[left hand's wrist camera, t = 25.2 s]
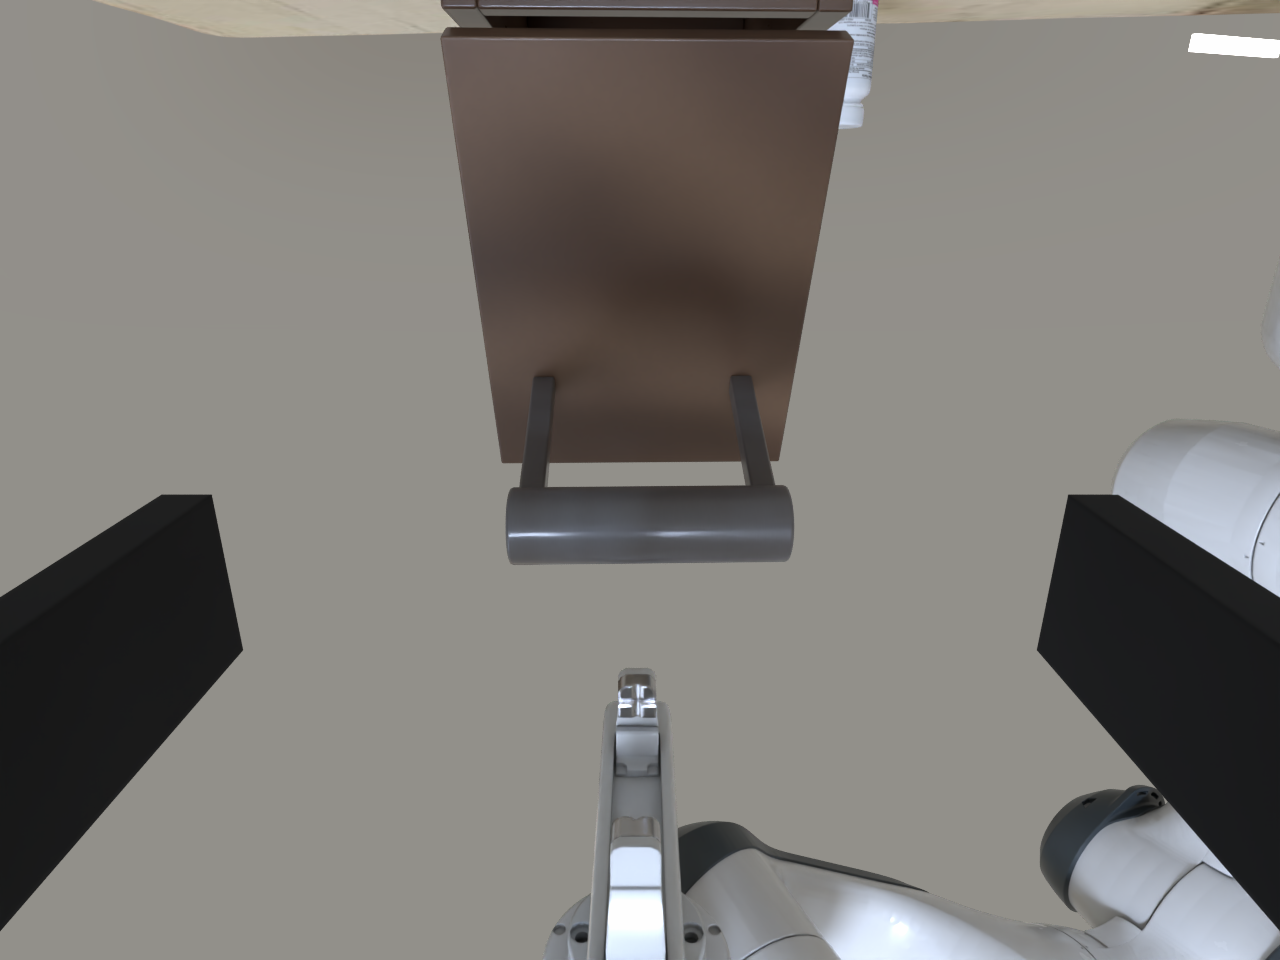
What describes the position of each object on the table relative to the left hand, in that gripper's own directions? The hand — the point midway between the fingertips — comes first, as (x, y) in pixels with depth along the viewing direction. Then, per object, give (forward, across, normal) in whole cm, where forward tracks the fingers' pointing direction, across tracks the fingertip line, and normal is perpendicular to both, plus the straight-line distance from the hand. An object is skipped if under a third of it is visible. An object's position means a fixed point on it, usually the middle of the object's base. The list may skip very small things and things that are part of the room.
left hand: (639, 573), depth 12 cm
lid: (+14, 0, -3) cm, 14 cm away
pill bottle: (+52, -14, -19) cm, 57 cm away
